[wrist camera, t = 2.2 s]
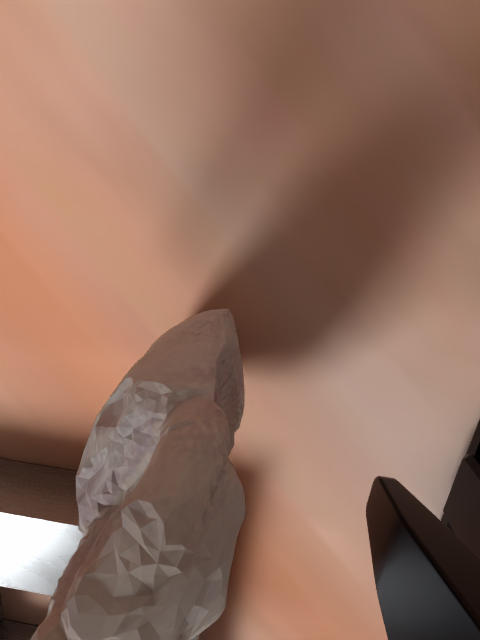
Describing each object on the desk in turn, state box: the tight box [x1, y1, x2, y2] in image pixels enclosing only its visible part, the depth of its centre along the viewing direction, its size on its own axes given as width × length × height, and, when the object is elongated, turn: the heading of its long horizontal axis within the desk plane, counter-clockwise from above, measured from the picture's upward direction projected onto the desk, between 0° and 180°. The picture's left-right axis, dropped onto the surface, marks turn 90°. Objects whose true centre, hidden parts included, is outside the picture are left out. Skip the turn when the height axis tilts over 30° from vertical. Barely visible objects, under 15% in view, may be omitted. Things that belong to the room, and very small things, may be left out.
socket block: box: [0, 458, 201, 640], centre depth 17 cm, size 12×14×2 cm
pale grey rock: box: [30, 308, 246, 640], centre depth 9 cm, size 6×4×10 cm, turn 174°
